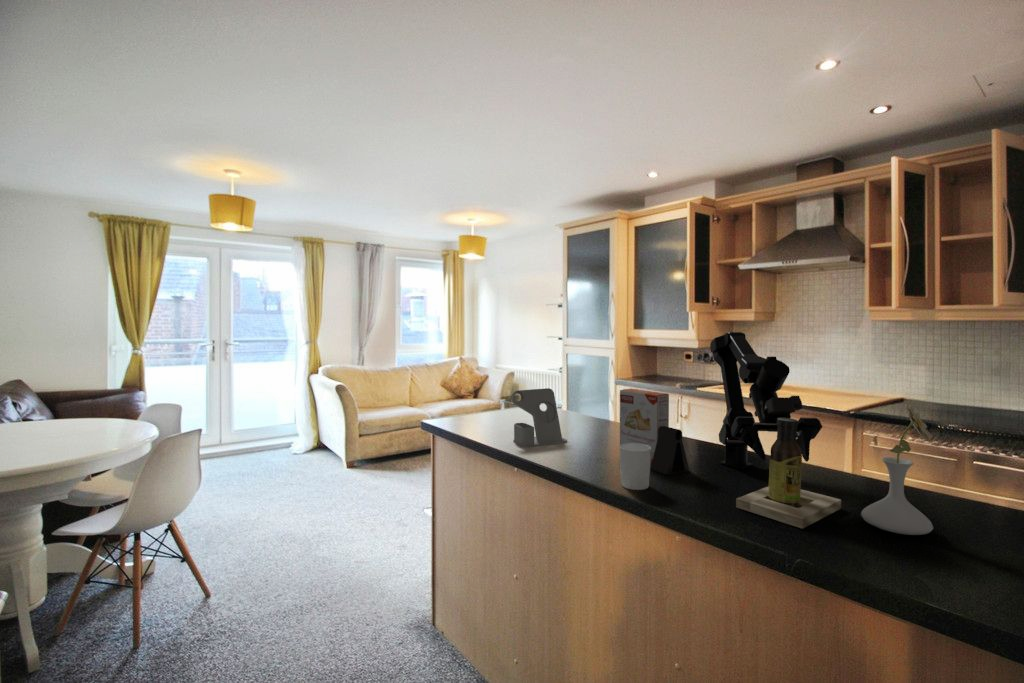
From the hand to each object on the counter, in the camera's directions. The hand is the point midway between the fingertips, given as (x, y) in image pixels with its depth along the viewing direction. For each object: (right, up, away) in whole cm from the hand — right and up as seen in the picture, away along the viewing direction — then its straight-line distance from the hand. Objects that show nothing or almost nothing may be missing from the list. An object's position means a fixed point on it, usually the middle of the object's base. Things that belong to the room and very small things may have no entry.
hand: (785, 460), depth 111 cm
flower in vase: (+16, -11, -12) cm, 23 cm away
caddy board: (0, -10, -1) cm, 10 cm away
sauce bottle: (-1, -11, -1) cm, 11 cm away
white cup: (-30, -10, +14) cm, 35 cm away
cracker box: (-22, -9, +37) cm, 44 cm away
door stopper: (-18, -10, +27) cm, 34 cm away
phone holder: (-52, -8, +60) cm, 80 cm away
